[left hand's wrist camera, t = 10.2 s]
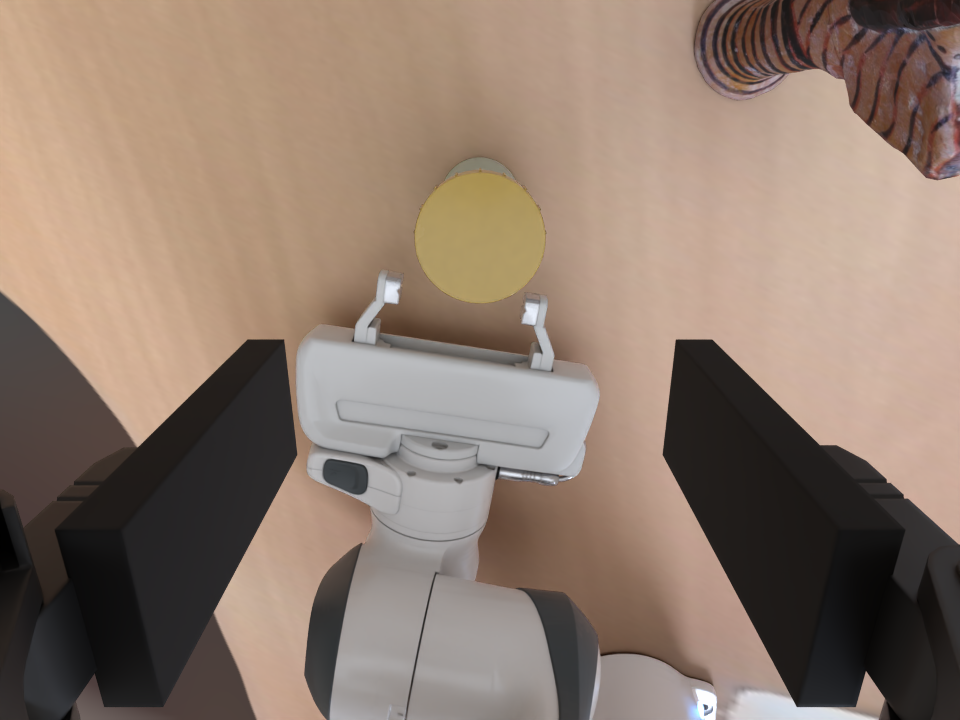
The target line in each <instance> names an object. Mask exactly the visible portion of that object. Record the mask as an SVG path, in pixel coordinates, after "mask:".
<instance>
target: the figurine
mask: <svg viewBox="0 0 960 720" xmlns="http://www.w3.org/2000/svg"><path fill="white" fill-rule="evenodd" d="M694 54H695V57H696V61H697V65H698V69H699V71H700V72H701V73H702V75H703V77H704V79H705V81H706V82H707V83H708V84H709V85H710V86H711V87H712V88H713V89H714V90H715V91H717V92H718V93H720V94H721V95H723V96H725V97H728V98H731V99H735V100H744V99H750V98H753V97H756V96H758V95H760V94H763V93H766V92H768V91H770V90H772V89H773V88H775V87H776V86H777V85H779V84H780V83H781V82H782V81H783V80H784V79H785V78H786V77H787V76H788V75H789V73H794V72H800V71H804V70H810V69H821V70H824V71H826V72H828V73H829V74H831V75H832V76H834V77H835V78H837V79H844V80H845V83H846V87H847V91H848V96H849V104H850V106H851V108H852V110H853V111H854V113H856V114H857V115H858V116H859V117H860V118H861V119H862V120H863V121H864V122H865V123H866V124H867V125H868V126H870V127H871V128H872V129H873V130H874V131H875V132H876V133H878V134H879V135H880V136H881V137H882V138H883V139H884V140H885V141H886V142H887V143H889V144H890V145H891V146H892V147H894V148H896V149H897V150H899V151H900V152H902V153H903V154H905V155H906V157H907V158H908V159H909V160H910V161H911V162H912V163H913V164H914V165H915V167H916V168H917V169H918V170H919V171H920V172H921V173H922V174H923V175H924V176H925V177H926V178H929V179H934V180H941V179H946V178H951V177H956V176H959V175H960V0H715V1H714V2H713V3H711V4H710V5H709V7H708V8H707V9H706V11H705V12H704V14H703V16H702V18H701V20H700V22H699V26H698V29H697V33H696V39H695V46H694Z"/></svg>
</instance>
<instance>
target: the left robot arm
mask: <svg viewBox="0 0 960 720" xmlns="http://www.w3.org/2000/svg"><path fill="white" fill-rule="evenodd" d="M296 456H297V448H296V439H295V430H294V422H293V413H292V404H291V396H290V387H289V378H288V370H287V361H286V352H285V344H284V340H247V341H246V342H245V343H244V344H243V345H242V346H241V347H240V348H239V349H238V350H237V351H236V352H235V353H234V354H233V355H232V356H231V357H230V358H229V359H228V360H226V361H225V362H224V363H223V364H222V365H221V366H220V367H219V368H218V369H217V370H216V371H215V372H214V373H213V374H212V375H211V376H210V377H209V378H208V379H207V380H206V381H205V382H204V383H203V384H202V385H201V386H200V387H199V388H198V389H197V390H196V391H195V392H194V393H193V394H192V395H191V396H190V397H189V398H188V399H187V400H186V401H185V402H184V403H183V404H182V405H181V406H180V407H179V408H178V409H177V410H176V411H175V412H174V413H173V414H172V415H171V416H169V417H168V418H167V419H166V420H165V421H164V422H163V423H162V424H161V425H160V426H159V427H158V428H157V429H156V430H155V431H154V432H153V433H152V434H151V435H150V436H149V437H148V438H147V439H146V440H145V441H144V442H143V443H142V444H141V445H140V446H139V447H138V448H122V449H120V450H118V451H116V452H115V453H113V454H111V455H109V456H107V457H105V458H103V459H101V460H100V461H98V462H96V463H94V464H93V465H92V466H91V467H90V468H89V469H87V470H86V471H85V472H84V473H83V474H82V475H81V476H80V477H79V478H78V479H76V480H75V481H74V485H70V486H69V487H68V488H67V489H66V490H64V491H63V492H62V493H61V494H60V495H59V496H58V497H57V501H52V502H51V503H50V504H49V505H48V506H47V507H46V508H45V509H44V510H42V511H41V512H40V513H39V514H38V515H37V516H36V517H35V518H34V519H33V520H32V521H30V522H29V523H28V524H27V525H26V526H25V527H24V528H23V525H22V522H21V519H20V516H19V513H18V509H17V506H16V502H15V499H14V496H13V495H11V494H9V493H8V492H6V491H4V490H2V489H0V720H80V714H79V711H78V708H77V704H76V700H77V698H78V697H79V695H80V694H81V692H82V691H83V689H84V688H85V687H86V685H87V684H88V682H89V681H90V679H91V678H92V676H93V675H94V673H95V676H96V679H97V683H98V686H99V690H100V693H101V697H102V700H103V704H104V707H163V706H164V704H165V702H166V700H167V699H168V697H169V695H170V693H171V691H172V689H173V687H174V685H175V684H176V682H177V680H178V678H179V676H180V674H181V672H182V670H183V669H184V667H185V665H186V663H187V661H188V659H189V657H190V655H191V654H192V652H193V650H194V648H195V646H196V644H197V642H198V640H199V638H200V637H201V635H202V633H203V631H204V629H205V627H206V625H207V623H208V622H209V620H210V618H211V616H212V614H213V612H214V610H215V608H216V607H217V605H218V603H219V601H220V599H221V597H222V595H223V593H224V592H225V590H226V588H227V586H228V584H229V582H230V580H231V578H232V577H233V575H234V573H235V571H236V569H237V567H238V565H239V563H240V561H241V560H242V558H243V556H244V554H245V552H246V550H247V548H248V546H249V545H250V543H251V541H252V539H253V537H254V535H255V533H256V531H257V530H258V528H259V526H260V524H261V522H262V520H263V518H264V516H265V514H266V513H267V511H268V509H269V507H270V505H271V503H272V501H273V499H274V498H275V496H276V494H277V492H278V490H279V488H280V486H281V484H282V483H283V481H284V479H285V477H286V475H287V473H288V471H289V469H290V468H291V466H292V464H293V462H294V460H295V458H296ZM663 456H664V458H665V460H666V462H667V464H668V466H669V468H670V469H671V471H672V473H673V475H674V477H675V479H676V481H677V483H678V484H679V486H680V488H681V490H682V492H683V494H684V496H685V498H686V499H687V501H688V503H689V505H690V507H691V509H692V511H693V513H694V514H695V516H696V518H697V520H698V522H699V524H700V526H701V528H702V530H703V531H704V533H705V535H706V537H707V539H708V541H709V543H710V545H711V546H712V548H713V550H714V552H715V554H716V556H717V558H718V560H719V561H720V563H721V565H722V567H723V569H724V571H725V573H726V575H727V577H728V578H729V580H730V582H731V584H732V586H733V588H734V590H735V592H736V593H737V595H738V597H739V599H740V601H741V603H742V605H743V607H744V608H745V610H746V612H747V614H748V616H749V618H750V620H751V622H752V623H753V625H754V627H755V629H756V631H757V633H758V635H759V637H760V639H761V640H762V642H763V644H764V646H765V648H766V650H767V652H768V654H769V655H770V657H771V659H772V661H773V663H774V665H775V667H776V669H777V670H778V672H779V674H780V676H781V678H782V680H783V682H784V684H785V686H786V687H787V689H788V691H789V693H790V695H791V697H792V699H793V701H794V702H795V704H796V706H797V707H856V704H857V701H858V697H859V693H860V690H861V686H862V683H863V679H864V676H865V672H866V671H867V673H868V674H869V676H870V677H871V679H872V680H873V682H874V683H875V684H876V686H877V687H878V689H879V690H880V692H881V693H882V695H883V696H884V697H885V701H884V704H883V708H882V711H881V714H880V718H879V720H960V545H959V544H957V543H956V542H955V541H954V540H953V539H952V538H951V537H950V536H949V535H948V534H946V533H945V532H944V531H943V530H942V529H941V528H940V527H939V526H938V525H936V524H935V523H934V522H933V521H932V520H931V519H930V518H929V517H928V516H927V515H925V514H924V513H923V512H922V511H921V510H920V509H919V508H918V507H917V506H915V505H914V504H913V503H912V502H911V501H910V500H909V499H904V497H903V496H904V495H903V494H902V493H901V492H900V491H899V490H898V489H897V488H896V487H894V486H893V485H892V484H891V483H887V479H886V478H885V477H883V476H882V475H881V474H880V473H879V472H878V471H877V470H876V469H875V468H873V467H872V466H871V465H870V464H869V463H868V462H867V461H865V460H863V459H862V458H860V457H858V456H856V455H854V454H852V453H850V452H848V451H846V450H844V449H843V448H841V447H839V446H837V445H819V444H818V443H817V442H816V441H815V440H814V439H813V438H812V437H811V436H810V435H809V434H808V433H807V432H806V431H805V430H804V429H803V428H802V427H801V426H800V425H799V424H798V423H797V422H796V421H795V420H794V419H793V418H792V417H791V416H789V415H788V414H787V413H786V412H785V411H784V410H783V409H782V408H781V407H780V406H779V405H778V404H777V403H776V402H775V401H774V400H773V399H772V398H771V397H770V396H769V395H768V394H767V393H766V392H765V391H764V390H763V389H762V388H761V387H760V386H759V385H758V384H757V383H756V382H755V381H754V380H753V379H752V378H751V377H750V376H749V375H748V374H747V373H746V372H745V371H744V370H743V369H742V368H741V367H740V366H739V365H738V364H737V363H736V362H735V361H734V360H732V359H731V358H730V357H729V356H728V355H727V354H726V353H725V352H724V351H723V350H722V349H721V348H720V347H719V346H718V345H717V344H716V343H715V342H714V341H713V340H676V343H675V352H674V361H673V370H672V378H671V387H670V396H669V404H668V413H667V422H666V430H665V439H664V448H663Z"/></svg>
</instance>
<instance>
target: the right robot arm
mask: <svg viewBox="0 0 960 720" xmlns="http://www.w3.org/2000/svg"><path fill="white" fill-rule="evenodd" d="M403 278H404V273H401V272H395V271H389V270H383V269H381V271H380V273H379V277H378V283H377V292H376V297H375V298H374V299H373V300H372V302H371V303H370V304H369V306H368V307H367V308H366V309H365V311H364V312H363V313H362V314H361V316H360V318H359V319H358V321H357V323H356V325H355V329H353V328H347V327H340V326H334V325H327V324H320V325H317V326H316V327H315V328H314V329H312V330H311V331H310V332H309V333H308V334H307V335H306V336H305V337H304V338H303V339H302V341H301V343H300V345H299V347H298V350H297V356H296V396H297V407H298V415H299V421H300V424H301V427H302V429H303V431H304V433H305V435H306V436H307V437H308V438H309V439H310V440H311V441H312V445H311V448H310V451H309V455H308V460H307V473H308V475H309V476H310V477H311V478H312V479H313V480H315V481H317V482H319V483H322V484H324V485H326V486H329V487H331V488H334V489H336V490H338V491H341V492H343V493H345V494H347V495H349V496H352V497H354V498H356V499H358V500H360V501H362V502H364V503H366V504H367V505H369V506H370V511H371V517H372V527H371V530H370V532H369V534H368V536H367V538H366V541H365V544H362V543H360V544H359V545H357V546H355V547H354V548H353V549H351V550H350V551H349V552H348V553H346V554H345V555H344V556H343V557H342V558H341V559H340V560H339V561H338V562H336V563H335V564H334V565H333V566H332V567H331V568H330V569H329V570H328V572H327V573H326V574H325V576H324V578H323V579H322V581H321V583H320V586H319V588H318V590H317V593H316V596H315V599H314V603H313V607H312V611H311V617H310V623H309V631H308V640H307V650H306V661H305V673H304V676H305V678H306V681H307V684H308V687H309V690H310V692H311V695H312V697H313V699H314V701H315V703H316V705H317V707H318V709H319V710H320V712H321V713H322V714H323V716H324V717H325V718H326V719H327V720H715V719H716V706H717V696H716V693H715V689H714V687H713V686H712V685H711V684H709V683H707V682H704V681H701V680H697V679H693V678H689V677H686V676H684V675H682V674H681V673H679V672H678V671H677V670H675V669H674V668H673V667H671V666H670V665H668V664H666V663H664V662H662V661H660V660H657V659H655V658H651V657H648V656H643V655H637V654H612V655H606V656H601V657H600V650H599V645H598V635H597V633H596V631H595V630H594V628H593V626H592V625H591V623H590V622H589V621H588V619H587V618H586V617H585V615H584V614H583V613H582V611H581V610H580V609H579V608H578V607H577V606H576V605H575V603H574V602H573V601H572V600H571V599H570V598H569V597H568V596H567V595H566V594H565V593H563V592H555V591H545V590H536V589H527V588H516V589H513V588H508V587H502V586H497V585H492V584H487V583H482V582H477V581H475V579H476V575H477V570H478V565H479V551H478V539H479V536H480V535H481V533H482V531H483V529H484V527H485V525H486V522H487V519H488V515H489V510H490V505H491V500H492V495H493V490H494V484H495V480H497V479H502V480H509V481H516V482H525V481H526V482H534V483H539V484H540V485H545V486H556V485H557V484H558V482H563V481H567V480H570V479H572V478H573V477H575V476H577V475H578V474H579V472H580V470H581V468H582V465H583V461H584V457H585V453H586V442H585V438H586V435H587V433H588V431H589V428H590V426H591V423H592V420H593V418H594V415H595V412H596V409H597V406H598V402H599V398H600V390H599V386H598V383H597V381H596V379H595V377H594V375H593V374H592V372H591V371H590V369H589V368H588V367H587V366H586V365H585V364H582V363H576V362H569V361H562V360H556V359H554V352H553V348H552V345H551V342H550V339H549V337H548V334H547V331H546V328H545V325H544V321H545V316H546V311H547V306H548V299H547V296H546V295H541V294H534V293H528V292H525V293H524V296H523V303H524V305H522V306H521V312H520V319H521V324H526V325H531V326H533V327H534V330H535V333H536V335H537V338H538V341H539V343H537V342H532V343H531V347H530V351H529V355H523V354H517V353H510V352H504V351H497V350H491V349H484V348H477V347H471V346H464V345H458V344H451V343H445V342H438V341H432V340H425V339H419V338H412V337H406V336H399V335H392V334H386V333H380V325H381V319H380V318H374V317H375V316H376V315H377V314H378V312H379V311H380V310H381V308H382V307H383V306H384V304H385V303H390V304H398V303H399V300H400V299H401V294H402V286H401V284H402V283H403ZM539 344H540V345H539ZM559 475H564V476H559Z"/></svg>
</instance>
